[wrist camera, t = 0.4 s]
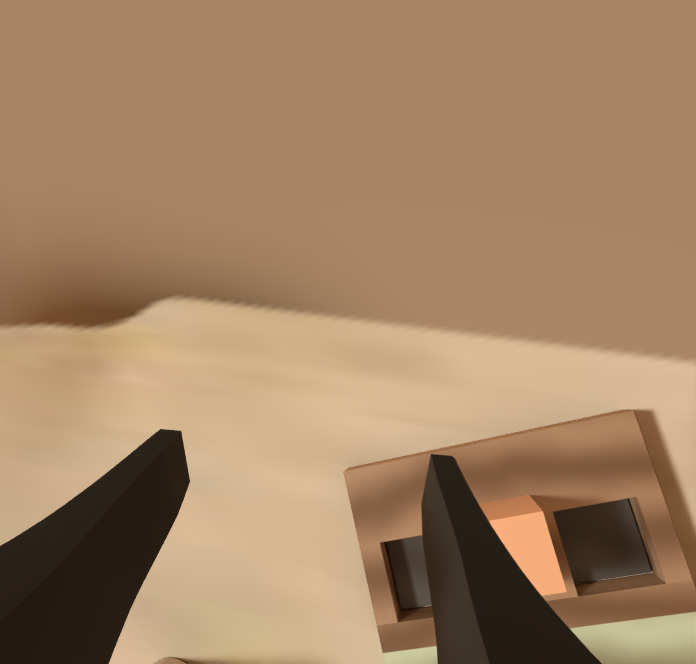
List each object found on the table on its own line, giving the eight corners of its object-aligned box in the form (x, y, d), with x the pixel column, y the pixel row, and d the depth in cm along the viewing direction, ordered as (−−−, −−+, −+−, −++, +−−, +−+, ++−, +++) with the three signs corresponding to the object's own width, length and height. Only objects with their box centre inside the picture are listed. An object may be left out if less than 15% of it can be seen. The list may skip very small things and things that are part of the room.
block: (549, 563, 33) (566, 592, 28) (482, 573, 34) (488, 603, 29) (529, 494, 34) (542, 511, 29) (464, 506, 35) (467, 524, 30)
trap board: (719, 688, 31) (736, 707, 29) (404, 720, 35) (401, 739, 33) (623, 409, 35) (633, 410, 33) (348, 467, 39) (343, 471, 37)
